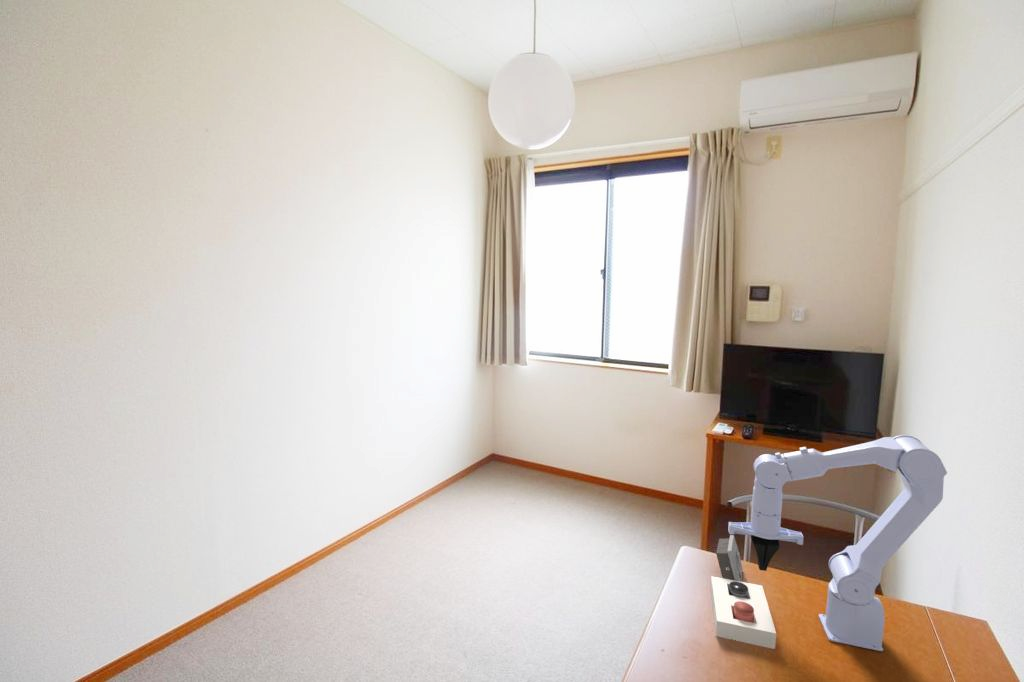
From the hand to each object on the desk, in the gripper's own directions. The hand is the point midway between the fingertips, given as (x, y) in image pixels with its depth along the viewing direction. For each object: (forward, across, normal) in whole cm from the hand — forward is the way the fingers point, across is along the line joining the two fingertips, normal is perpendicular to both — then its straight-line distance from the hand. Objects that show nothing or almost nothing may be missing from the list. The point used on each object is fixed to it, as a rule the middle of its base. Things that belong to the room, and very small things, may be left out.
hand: (762, 567), depth 106 cm
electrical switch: (+11, +5, -12) cm, 16 cm away
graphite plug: (+10, +4, -1) cm, 11 cm away
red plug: (+9, +4, +8) cm, 13 cm away
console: (+10, +4, +4) cm, 12 cm away
